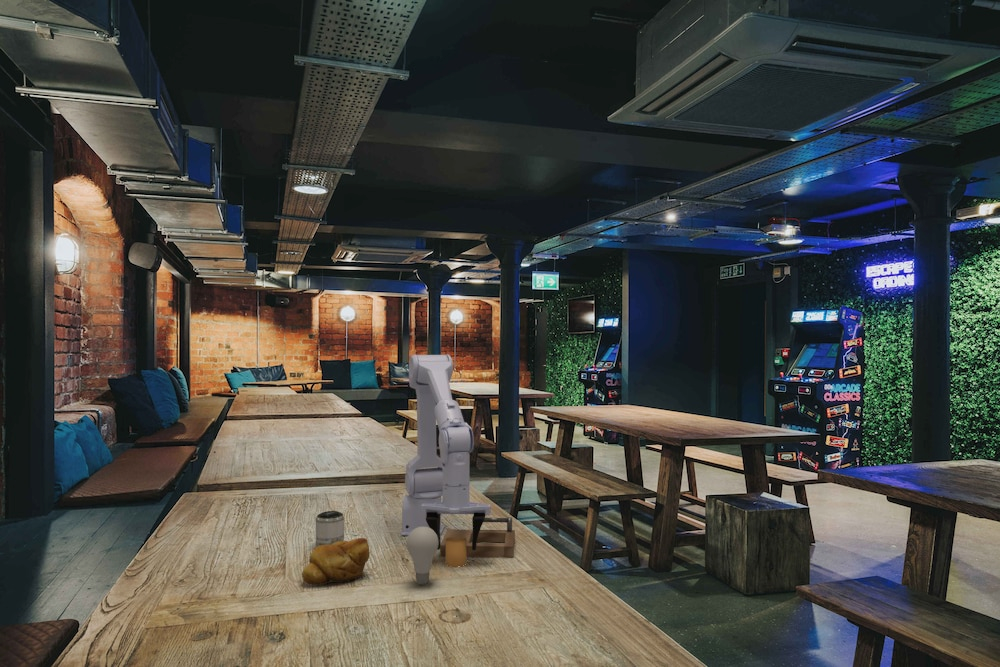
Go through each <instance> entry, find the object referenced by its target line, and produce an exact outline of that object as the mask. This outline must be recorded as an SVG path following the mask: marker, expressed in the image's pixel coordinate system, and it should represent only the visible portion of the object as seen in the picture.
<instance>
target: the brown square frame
mask: <svg viewBox="0 0 1000 667" xmlns="http://www.w3.org/2000/svg"><path fill="white" fill-rule="evenodd" d="M449 537H464V538H466V558H498V557H503V559H504V558H505V559H507V558H509V559H512V558H513V559H514V558H515V557H514V555H515V545H514V544H515V543H516V541H515V540H516V530H515V529H512V532H507V529H480V531H479V534H478V538H477V542H505V543H477V545H476V550H472V540H473V529H460V528H459V529H448V528H447V530H446V531H445V534H444V536H443V538H442V539H441V543H440V549H439V557H440V556H446V539H447V538H449Z"/></svg>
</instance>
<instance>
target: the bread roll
mask: <svg viewBox="0 0 1000 667" xmlns="http://www.w3.org/2000/svg"><path fill="white" fill-rule="evenodd" d="M368 542H369V541H368V539H367V538H364V537H359V538H355V539H351V540H344V541H339V542H335V543H333V544H332V545H320V546H318V547H317V546H315V547H314V549H313V550H312V551H311V553H310V555H309V563H308V564H307V565H306V566H304V568H303V570H302V573H301V577H302V580H303V581H304V583H306V584H309V585H319V586H320V585H326V584H328V583H330V582H333V583H340V582H341V583H342V582H345V583H346V582H349V581H351V580H355V579H357V578H358V577H360V576H361V575H362V574H363V572H364V571H365V566H366V563H367V562H368V561H369V559H370V545H369V543H368ZM348 580H349V581H348Z"/></svg>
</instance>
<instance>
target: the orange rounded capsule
mask: <svg viewBox="0 0 1000 667" xmlns="http://www.w3.org/2000/svg"><path fill="white" fill-rule="evenodd" d="M465 564H466V565H467V557H466V538H464V537H449V538H447V539H446V557H445V565H446V566H447V565H448V566H447V567H449V566H452V567H451V568H459V567H458V566H462V567H464V566H466V565H465ZM463 565H464V566H463Z"/></svg>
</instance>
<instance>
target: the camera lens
mask: <svg viewBox="0 0 1000 667" xmlns="http://www.w3.org/2000/svg"><path fill="white" fill-rule="evenodd" d="M339 541H345V515H344V514H343V513H342V512H340V511H338V510H328V511H327V510H326V511H322V512H321V513H318V514H317V515H316V517H315V547H318V546H320V545H332V544H333V543H335V542H339Z"/></svg>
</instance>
